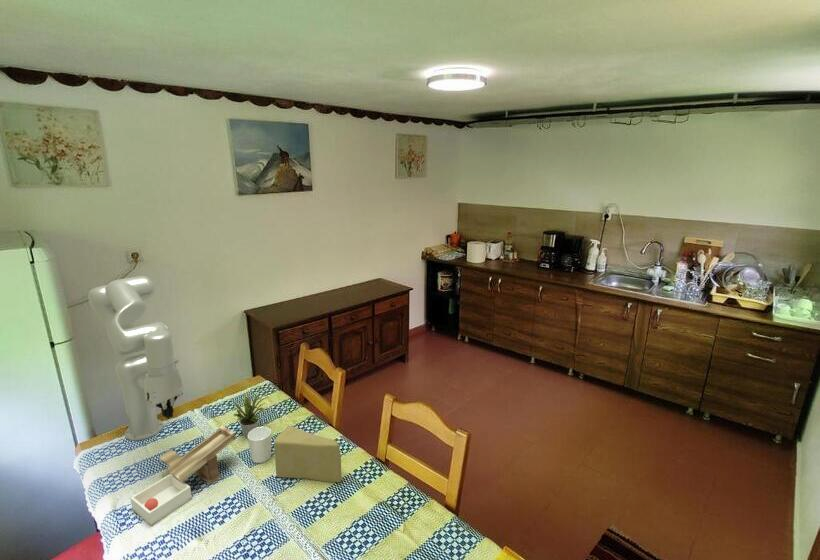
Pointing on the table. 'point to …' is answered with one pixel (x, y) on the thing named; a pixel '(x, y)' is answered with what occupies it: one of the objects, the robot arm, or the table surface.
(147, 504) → the ball
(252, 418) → the house plant
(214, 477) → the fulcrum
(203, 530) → the table surface
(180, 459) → the lever
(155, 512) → the dish
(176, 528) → the table surface
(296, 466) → the cheese
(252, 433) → the white cup
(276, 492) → the table surface
